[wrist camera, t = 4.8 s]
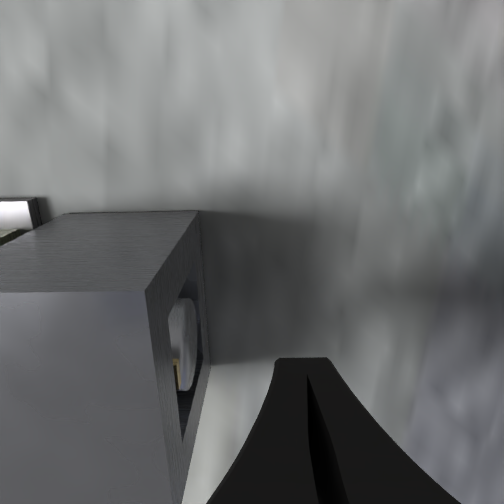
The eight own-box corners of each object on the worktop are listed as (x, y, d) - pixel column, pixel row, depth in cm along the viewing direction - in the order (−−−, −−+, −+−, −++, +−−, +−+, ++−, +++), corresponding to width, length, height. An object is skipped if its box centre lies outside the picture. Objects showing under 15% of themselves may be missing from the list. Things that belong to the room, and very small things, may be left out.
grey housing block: (198, 210, 14) (144, 291, 8) (210, 367, 17) (175, 528, 10) (64, 213, 15) (-94, 294, 8) (94, 368, 17) (-11, 525, 10)
